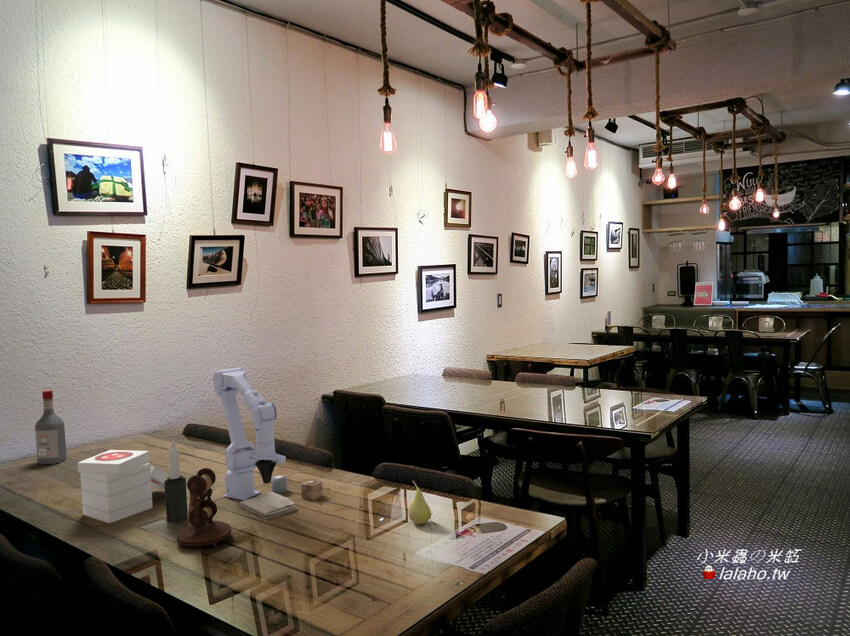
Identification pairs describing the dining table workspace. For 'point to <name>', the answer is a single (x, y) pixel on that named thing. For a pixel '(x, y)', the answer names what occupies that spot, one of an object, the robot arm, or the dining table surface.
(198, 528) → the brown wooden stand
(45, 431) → the liquor
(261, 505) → the washcloth
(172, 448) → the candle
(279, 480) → the slate cylinder
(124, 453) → the pizza boxes
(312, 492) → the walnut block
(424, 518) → the fruit
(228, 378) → the robot arm
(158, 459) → the dining table surface
